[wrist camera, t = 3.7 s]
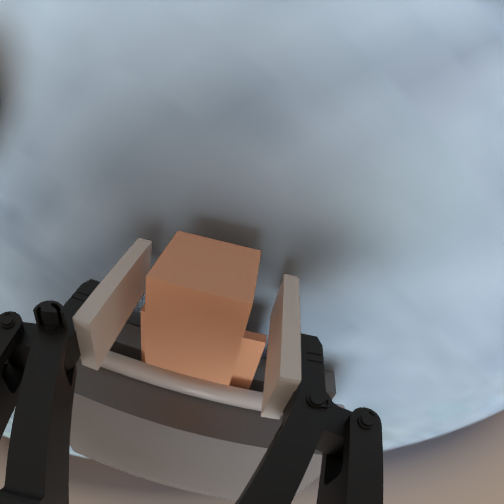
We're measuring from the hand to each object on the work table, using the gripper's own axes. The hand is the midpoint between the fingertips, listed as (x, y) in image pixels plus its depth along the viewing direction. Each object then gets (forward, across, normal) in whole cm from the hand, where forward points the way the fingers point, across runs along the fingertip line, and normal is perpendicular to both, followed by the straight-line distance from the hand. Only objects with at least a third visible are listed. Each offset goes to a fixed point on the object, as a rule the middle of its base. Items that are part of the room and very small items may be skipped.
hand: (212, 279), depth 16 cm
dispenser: (+2, 0, -12) cm, 13 cm away
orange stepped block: (0, 0, -6) cm, 6 cm away
